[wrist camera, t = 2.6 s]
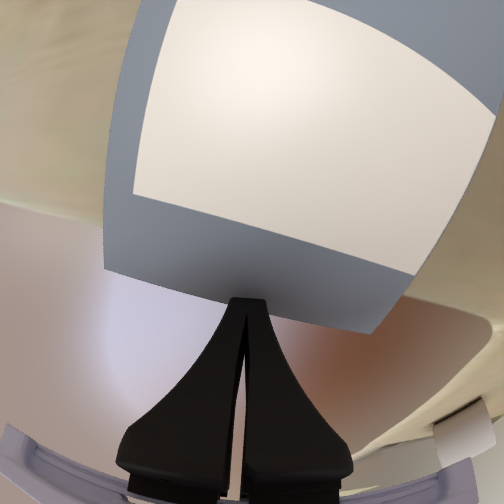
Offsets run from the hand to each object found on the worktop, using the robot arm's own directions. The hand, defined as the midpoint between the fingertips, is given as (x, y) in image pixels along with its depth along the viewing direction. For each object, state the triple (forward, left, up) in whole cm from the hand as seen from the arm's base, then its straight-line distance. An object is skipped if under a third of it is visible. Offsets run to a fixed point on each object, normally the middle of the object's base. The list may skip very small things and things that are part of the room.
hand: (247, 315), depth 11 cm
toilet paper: (-44, +21, -5) cm, 50 cm away
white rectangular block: (0, -8, -1) cm, 8 cm away
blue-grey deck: (0, -9, -5) cm, 10 cm away
